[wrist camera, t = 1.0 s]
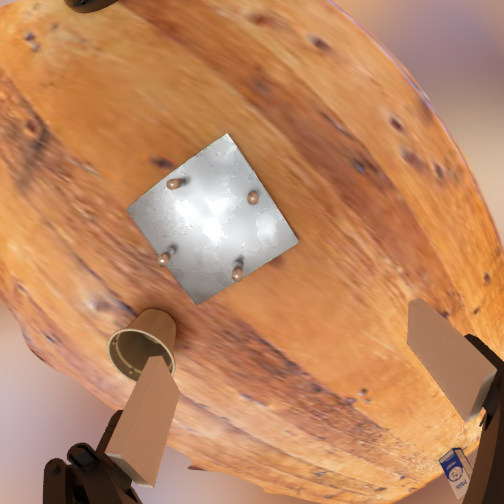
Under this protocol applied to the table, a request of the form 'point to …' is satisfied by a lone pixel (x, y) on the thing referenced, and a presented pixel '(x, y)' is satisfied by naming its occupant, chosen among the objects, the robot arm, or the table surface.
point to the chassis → (212, 221)
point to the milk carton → (457, 470)
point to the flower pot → (143, 343)
